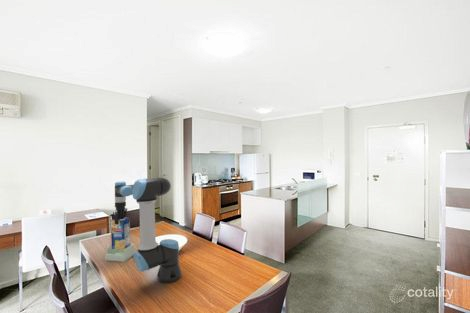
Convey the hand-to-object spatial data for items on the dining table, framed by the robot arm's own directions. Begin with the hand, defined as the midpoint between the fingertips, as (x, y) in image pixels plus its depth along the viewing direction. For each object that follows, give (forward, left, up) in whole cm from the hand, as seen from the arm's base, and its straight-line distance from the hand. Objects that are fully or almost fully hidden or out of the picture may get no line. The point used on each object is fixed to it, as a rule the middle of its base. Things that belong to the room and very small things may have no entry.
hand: (120, 231), depth 164 cm
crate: (0, 0, -20) cm, 20 cm away
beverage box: (-1, 0, -12) cm, 12 cm away
